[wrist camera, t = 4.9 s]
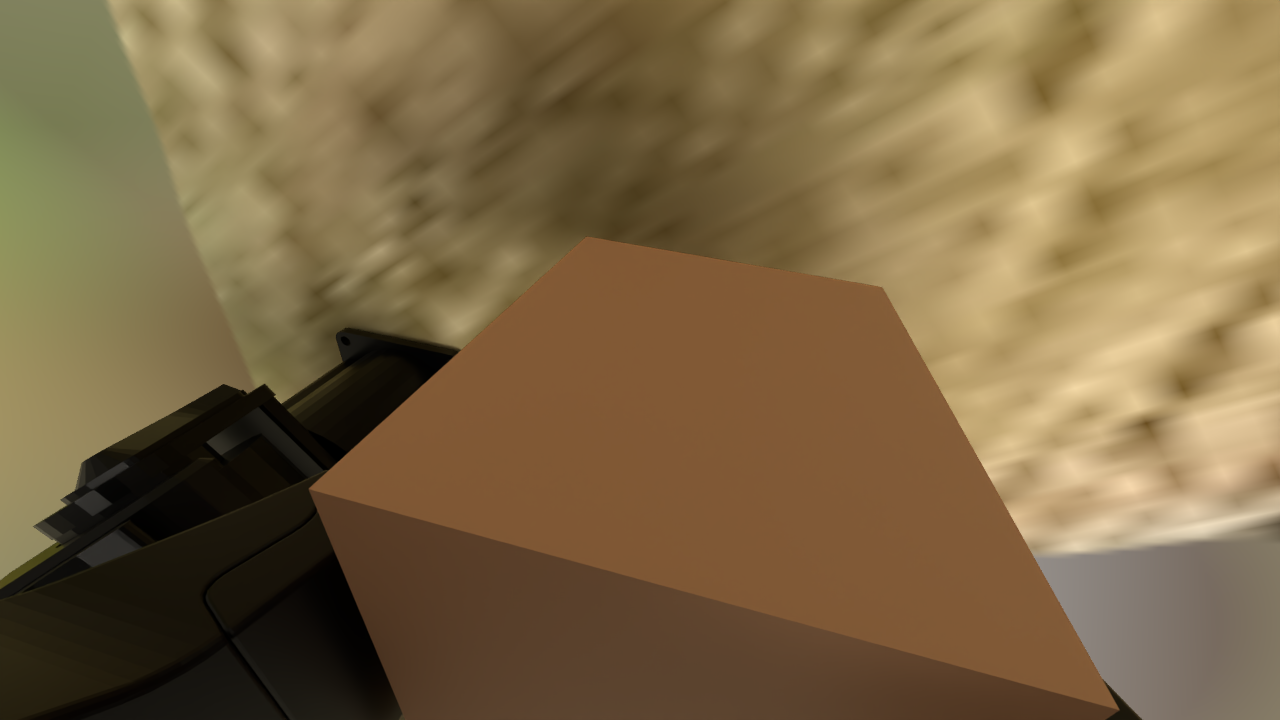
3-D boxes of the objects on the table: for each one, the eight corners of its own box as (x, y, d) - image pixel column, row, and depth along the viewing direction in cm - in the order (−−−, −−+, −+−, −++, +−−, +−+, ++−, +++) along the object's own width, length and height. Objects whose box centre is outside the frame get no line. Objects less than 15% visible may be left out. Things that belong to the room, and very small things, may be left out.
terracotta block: (578, 445, 11) (422, 760, 6) (586, 236, 8) (308, 490, 3) (795, 497, 10) (826, 902, 5) (882, 287, 7) (1120, 711, 2)
